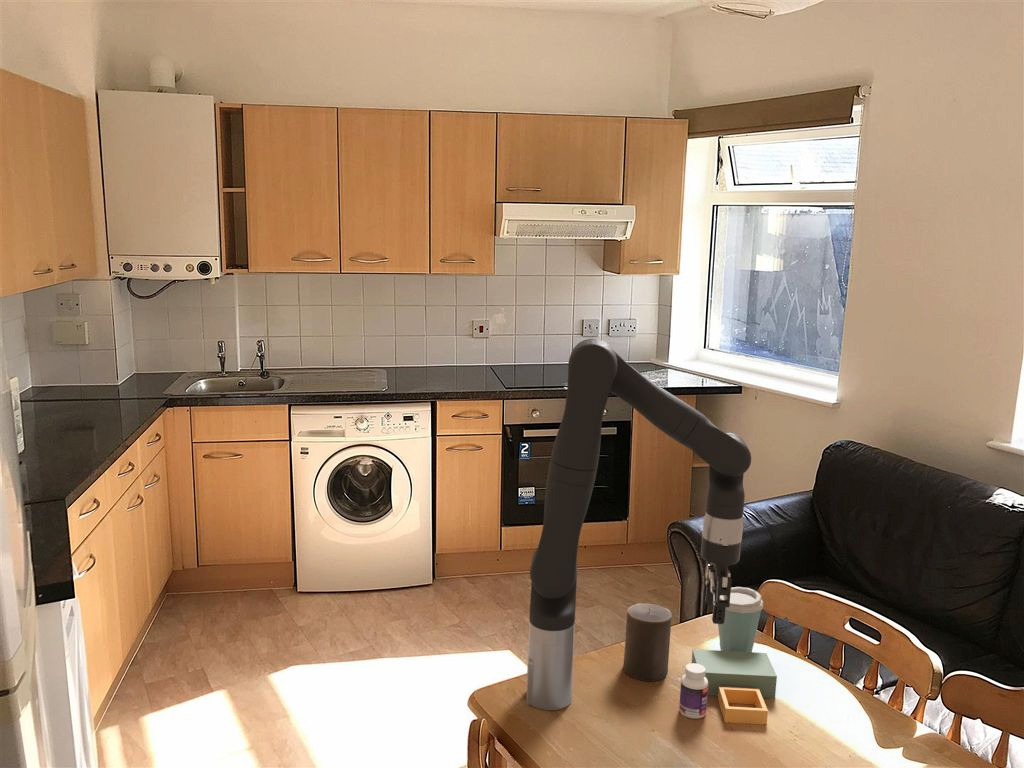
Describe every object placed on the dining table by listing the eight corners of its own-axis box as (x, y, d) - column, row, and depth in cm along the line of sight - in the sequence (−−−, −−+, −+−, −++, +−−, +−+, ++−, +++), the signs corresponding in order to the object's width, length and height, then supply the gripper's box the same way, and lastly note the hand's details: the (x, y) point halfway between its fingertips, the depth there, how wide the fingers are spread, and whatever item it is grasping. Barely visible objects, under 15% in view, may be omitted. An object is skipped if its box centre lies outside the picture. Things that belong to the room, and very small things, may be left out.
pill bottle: (706, 721, 176) (709, 676, 174) (678, 717, 177) (681, 672, 175) (706, 706, 181) (709, 662, 179) (679, 703, 182) (682, 659, 180)
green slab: (704, 721, 176) (706, 698, 175) (691, 670, 195) (692, 649, 194) (786, 725, 175) (788, 702, 174) (764, 674, 194) (766, 653, 193)
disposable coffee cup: (729, 670, 196) (733, 606, 193) (701, 648, 205) (706, 587, 203) (768, 662, 199) (774, 600, 197) (740, 641, 209) (744, 581, 206)
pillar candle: (641, 685, 188) (646, 620, 185) (614, 665, 197) (618, 602, 194) (677, 675, 193) (682, 611, 190) (648, 655, 201) (653, 594, 199)
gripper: (697, 522, 179) (690, 596, 182) (708, 548, 165) (700, 628, 168) (734, 524, 179) (726, 599, 182) (749, 550, 165) (740, 631, 168)
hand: (714, 613), depth 175 cm, fingers open, 8 cm apart
